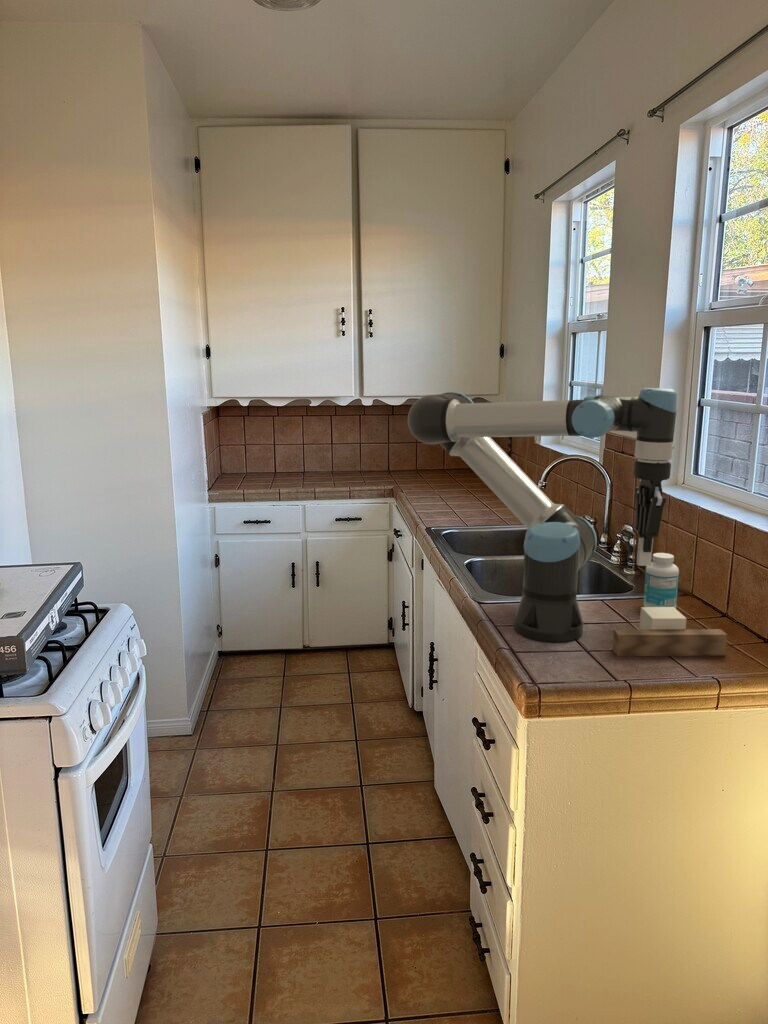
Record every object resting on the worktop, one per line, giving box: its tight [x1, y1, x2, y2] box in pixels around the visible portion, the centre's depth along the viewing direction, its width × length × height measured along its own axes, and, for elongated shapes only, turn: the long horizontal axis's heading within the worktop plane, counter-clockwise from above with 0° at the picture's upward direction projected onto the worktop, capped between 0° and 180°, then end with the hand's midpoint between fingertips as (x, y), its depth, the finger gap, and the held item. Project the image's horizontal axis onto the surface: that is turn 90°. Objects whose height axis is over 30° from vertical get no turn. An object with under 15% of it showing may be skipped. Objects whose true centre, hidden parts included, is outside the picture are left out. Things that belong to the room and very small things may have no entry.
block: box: [639, 606, 687, 629], centre depth 155 cm, size 7×7×7 cm
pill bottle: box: [643, 552, 680, 610], centre depth 175 cm, size 8×7×14 cm
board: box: [612, 628, 728, 657], centre depth 150 cm, size 22×3×4 cm, turn 90°
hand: (643, 564), depth 164 cm, fingers closed
